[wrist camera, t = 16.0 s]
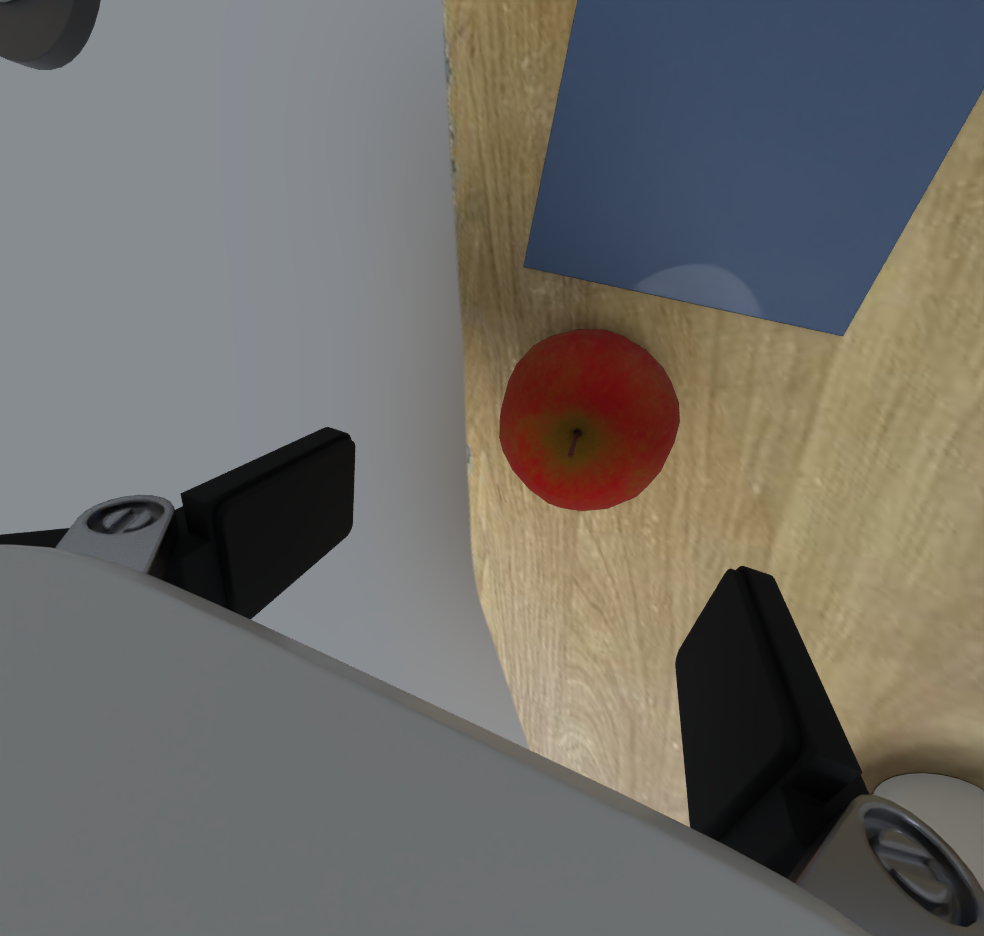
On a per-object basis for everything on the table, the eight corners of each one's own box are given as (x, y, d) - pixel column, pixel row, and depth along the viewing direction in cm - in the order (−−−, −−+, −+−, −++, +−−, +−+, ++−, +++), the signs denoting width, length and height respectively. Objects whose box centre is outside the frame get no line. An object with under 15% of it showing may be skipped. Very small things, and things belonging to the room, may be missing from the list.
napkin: (524, 266, 24) (523, 266, 24) (644, -320, 15) (644, -331, 15) (840, 335, 21) (843, 336, 20) (1248, -385, 12) (1263, -400, 11)
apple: (518, 342, 26) (445, 372, 17) (659, 299, 23) (666, 306, 13) (551, 464, 29) (504, 549, 19) (682, 442, 25) (703, 534, 16)
